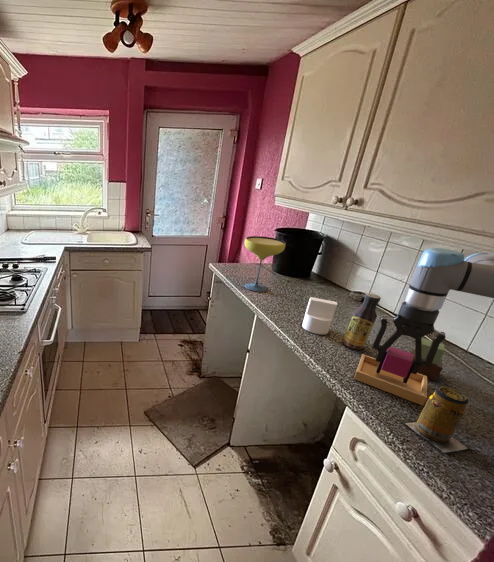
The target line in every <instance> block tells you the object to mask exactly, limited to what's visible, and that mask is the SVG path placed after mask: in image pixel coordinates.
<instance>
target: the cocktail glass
mask: <svg viewBox="0 0 494 562" xmlns="http://www.w3.org/2000/svg"><path fill="white" fill-rule="evenodd" d="M244 247H245V248H246V250H248V251H249V252H250V253H252V254H253V255H255V256H256V257H257V259H258V260H259V266H258V270H257V273H256V279H255V281H254V283H251V282H250V283H245V284H244V285H243V286H244V288H245V289H247V290H248V291H251V292H257V293H263V292H267V290H268V288H267V287H266V286H264V285H261V284H259V276H260V273H261V272H260V271H261V266H262V262H263V261H264V260H266V259H267V258H269V257H272V256H273V257H274V256H276V255H279V254H281V253H283V252H284V250H285V248H286V242H285V241H284V240H282V239H279V238H275V237H270V236H260V235H259V236H258V235H253V236H252V235H251V236H247V237H246V238H245V239H244Z"/></svg>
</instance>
